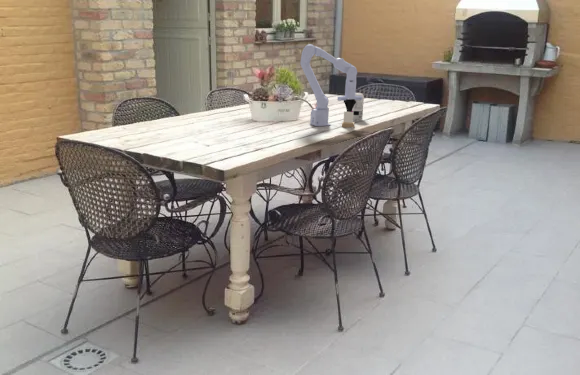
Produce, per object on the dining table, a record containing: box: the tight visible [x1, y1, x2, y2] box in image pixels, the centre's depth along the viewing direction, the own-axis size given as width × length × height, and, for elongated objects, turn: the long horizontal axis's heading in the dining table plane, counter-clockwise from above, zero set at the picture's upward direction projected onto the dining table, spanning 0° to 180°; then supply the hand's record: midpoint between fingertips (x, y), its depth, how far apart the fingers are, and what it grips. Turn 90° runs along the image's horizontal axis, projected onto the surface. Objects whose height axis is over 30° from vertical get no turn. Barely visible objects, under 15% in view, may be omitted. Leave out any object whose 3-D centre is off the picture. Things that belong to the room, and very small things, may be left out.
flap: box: [342, 110, 355, 124], centre depth 338 cm, size 3×6×6 cm, turn 81°
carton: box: [341, 121, 355, 128], centre depth 341 cm, size 7×6×2 cm
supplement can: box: [352, 92, 365, 121], centre depth 362 cm, size 8×8×15 cm
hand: (349, 113), depth 341 cm, fingers closed
